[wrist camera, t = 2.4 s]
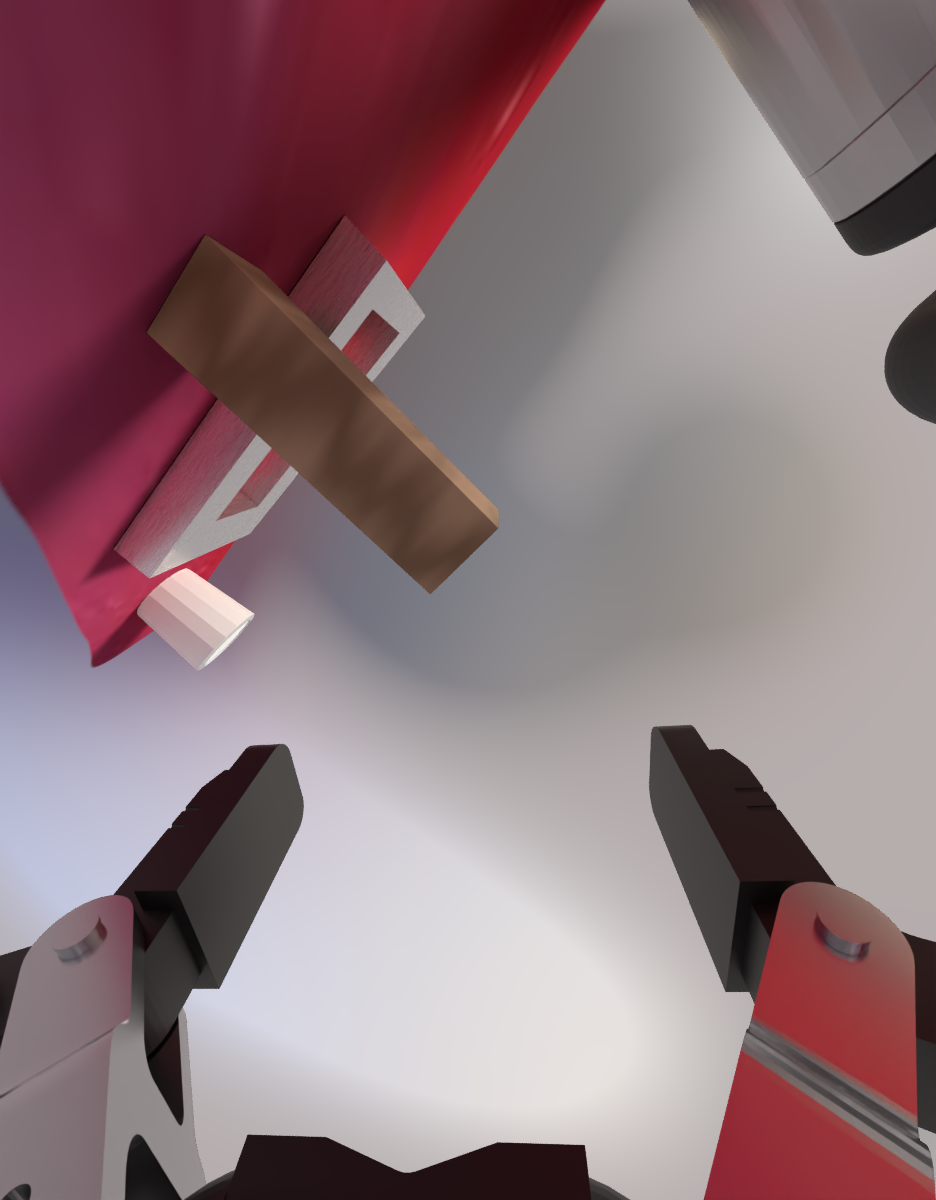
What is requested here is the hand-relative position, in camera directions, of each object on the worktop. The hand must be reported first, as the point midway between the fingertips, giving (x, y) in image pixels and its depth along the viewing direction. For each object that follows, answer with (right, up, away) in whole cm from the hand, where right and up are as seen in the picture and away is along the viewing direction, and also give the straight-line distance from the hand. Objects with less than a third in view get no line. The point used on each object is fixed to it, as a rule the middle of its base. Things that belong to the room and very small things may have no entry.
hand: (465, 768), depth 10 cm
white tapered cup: (-27, +5, +31) cm, 42 cm away
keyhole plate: (-13, +16, +20) cm, 28 cm away
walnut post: (-10, +15, +8) cm, 20 cm away
